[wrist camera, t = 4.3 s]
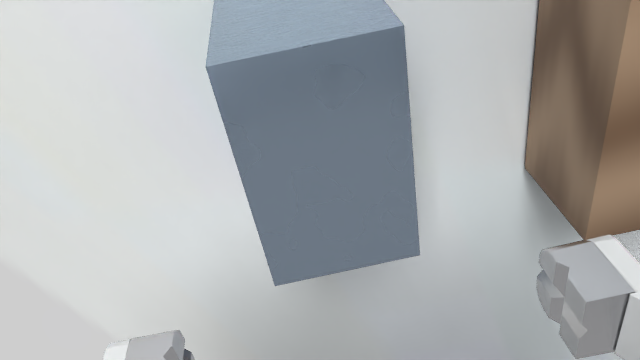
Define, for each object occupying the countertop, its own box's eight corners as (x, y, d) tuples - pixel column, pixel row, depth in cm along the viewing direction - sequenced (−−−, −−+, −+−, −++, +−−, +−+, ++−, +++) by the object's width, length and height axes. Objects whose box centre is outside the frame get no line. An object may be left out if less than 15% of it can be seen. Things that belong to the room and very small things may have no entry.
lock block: (214, -3, 18) (205, 66, 13) (358, -32, 18) (403, 25, 13) (266, 183, 22) (274, 285, 17) (380, 159, 22) (419, 255, 17)
